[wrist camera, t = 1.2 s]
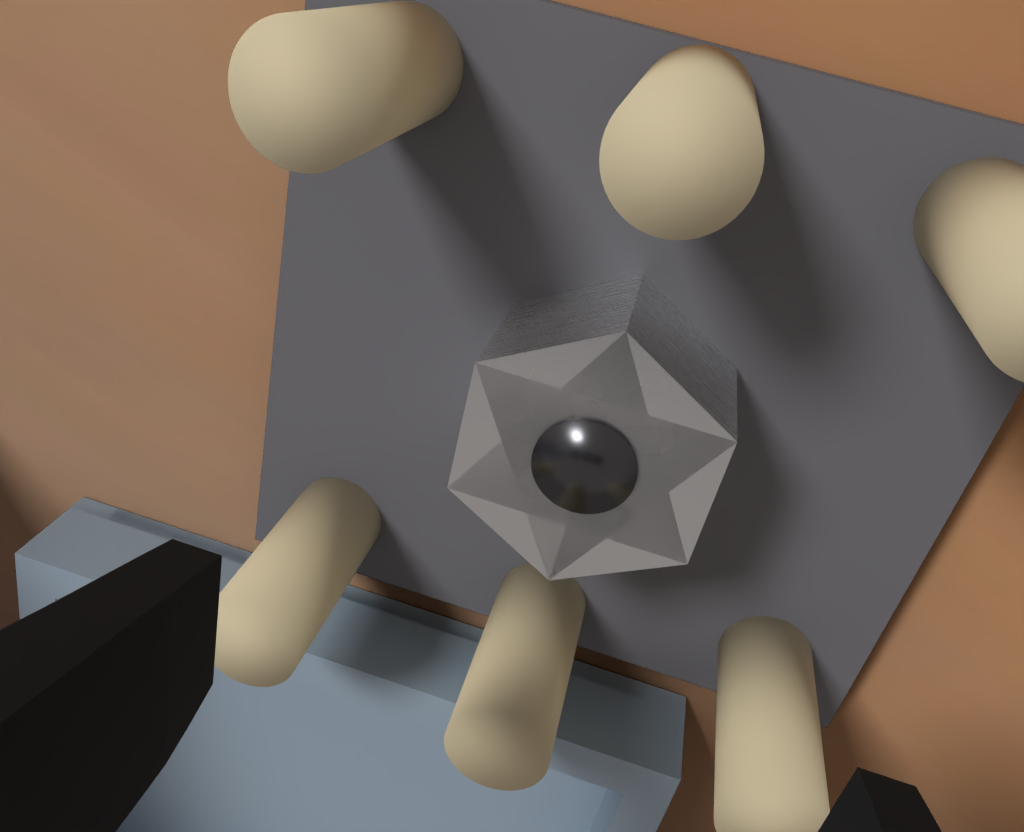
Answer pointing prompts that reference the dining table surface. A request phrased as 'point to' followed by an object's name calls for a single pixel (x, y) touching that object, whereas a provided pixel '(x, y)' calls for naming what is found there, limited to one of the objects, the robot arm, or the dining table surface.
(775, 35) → the dining table surface
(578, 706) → the tray
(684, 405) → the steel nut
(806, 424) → the spacer field
